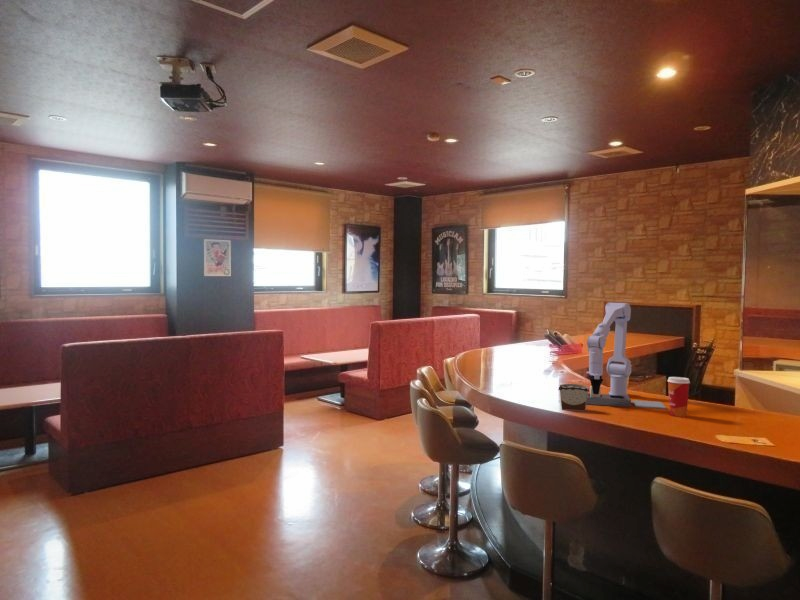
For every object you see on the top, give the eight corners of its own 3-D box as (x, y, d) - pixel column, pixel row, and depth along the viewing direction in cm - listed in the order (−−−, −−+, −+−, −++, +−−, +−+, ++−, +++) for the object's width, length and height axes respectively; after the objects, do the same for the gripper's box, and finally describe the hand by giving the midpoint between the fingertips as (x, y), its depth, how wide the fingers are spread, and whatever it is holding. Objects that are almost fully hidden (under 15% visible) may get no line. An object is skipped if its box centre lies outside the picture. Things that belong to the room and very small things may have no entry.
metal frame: (580, 399, 246) (580, 392, 246) (627, 402, 241) (627, 395, 241) (581, 403, 237) (581, 397, 237) (630, 406, 231) (631, 399, 231)
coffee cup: (667, 412, 222) (668, 375, 222) (690, 414, 218) (690, 377, 218) (665, 416, 215) (666, 378, 215) (689, 419, 211) (689, 380, 211)
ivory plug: (590, 401, 242) (590, 385, 242) (599, 401, 241) (599, 386, 241) (590, 403, 239) (591, 387, 238) (600, 403, 238) (600, 387, 237)
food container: (588, 408, 228) (588, 384, 228) (589, 411, 223) (589, 387, 222) (557, 406, 232) (558, 383, 232) (558, 409, 226) (558, 385, 226)
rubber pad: (631, 401, 242) (631, 400, 242) (660, 403, 239) (660, 401, 239) (635, 407, 231) (635, 405, 231) (666, 409, 228) (666, 407, 228)
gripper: (585, 359, 248) (584, 389, 248) (587, 364, 234) (586, 395, 234) (601, 360, 246) (601, 390, 246) (604, 365, 232) (604, 396, 232)
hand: (595, 393), depth 240 cm, fingers closed on ivory plug, 4 cm apart
